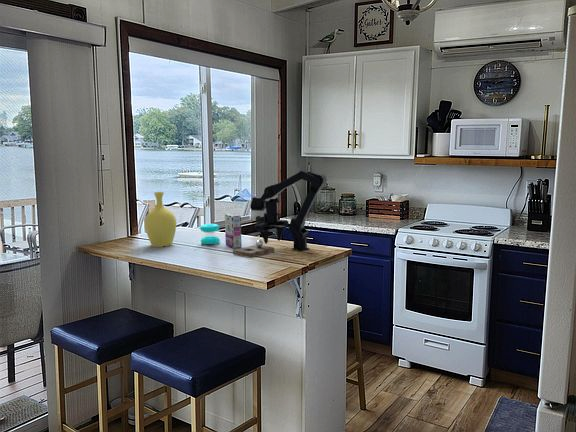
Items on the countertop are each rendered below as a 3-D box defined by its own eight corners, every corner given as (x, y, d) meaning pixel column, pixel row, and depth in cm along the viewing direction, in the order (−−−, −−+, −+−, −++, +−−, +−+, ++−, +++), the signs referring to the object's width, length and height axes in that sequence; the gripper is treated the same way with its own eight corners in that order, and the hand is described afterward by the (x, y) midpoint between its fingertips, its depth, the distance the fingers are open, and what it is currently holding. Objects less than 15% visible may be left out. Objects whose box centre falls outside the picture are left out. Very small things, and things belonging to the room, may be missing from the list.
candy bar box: (242, 247, 253) (241, 215, 250) (233, 248, 250) (231, 216, 248) (234, 243, 263) (233, 213, 260) (225, 245, 260) (224, 213, 258)
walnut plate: (256, 248, 250) (256, 244, 250) (274, 251, 242) (274, 247, 242) (232, 254, 238) (232, 250, 238) (250, 257, 230) (250, 253, 230)
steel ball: (259, 246, 245) (259, 239, 245) (264, 247, 243) (264, 240, 242) (254, 247, 243) (254, 240, 242) (259, 248, 240) (259, 241, 240)
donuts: (221, 223, 268) (215, 226, 258) (222, 241, 269) (216, 245, 260) (203, 223, 270) (197, 226, 260) (204, 241, 271) (198, 245, 261)
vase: (139, 247, 259) (136, 193, 255) (157, 241, 274) (154, 190, 270) (166, 248, 254) (163, 194, 250) (183, 242, 269) (180, 190, 265)
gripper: (272, 207, 260) (273, 237, 262) (246, 212, 246) (247, 243, 248) (288, 209, 252) (289, 239, 254) (262, 213, 238) (263, 245, 241)
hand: (272, 242), depth 250 cm, fingers open, 9 cm apart
